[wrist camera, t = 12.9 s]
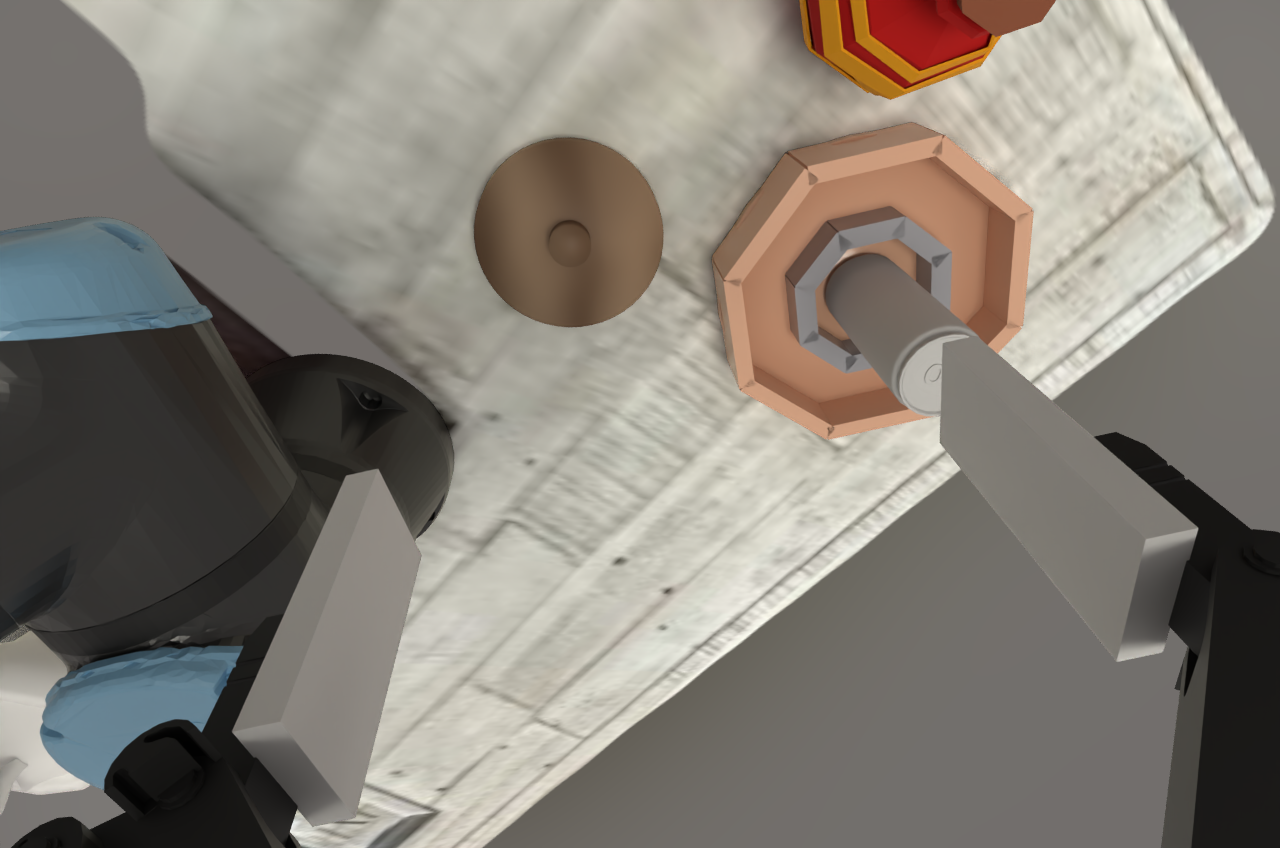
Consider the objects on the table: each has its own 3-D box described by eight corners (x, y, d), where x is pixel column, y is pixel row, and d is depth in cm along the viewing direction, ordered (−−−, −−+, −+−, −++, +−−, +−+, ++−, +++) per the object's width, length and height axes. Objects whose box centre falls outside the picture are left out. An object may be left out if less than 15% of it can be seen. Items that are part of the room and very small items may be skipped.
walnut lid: (508, 334, 46) (505, 352, 44) (450, 160, 40) (443, 171, 38) (675, 297, 46) (680, 313, 44) (641, 116, 40) (645, 124, 38)
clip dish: (736, 426, 51) (748, 458, 47) (695, 170, 41) (707, 187, 38) (987, 371, 50) (1017, 399, 47) (1005, 98, 41) (1044, 109, 37)
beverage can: (881, 327, 47) (968, 424, 36) (812, 317, 46) (881, 413, 36) (909, 257, 44) (1011, 339, 34) (836, 244, 43) (919, 324, 33)
